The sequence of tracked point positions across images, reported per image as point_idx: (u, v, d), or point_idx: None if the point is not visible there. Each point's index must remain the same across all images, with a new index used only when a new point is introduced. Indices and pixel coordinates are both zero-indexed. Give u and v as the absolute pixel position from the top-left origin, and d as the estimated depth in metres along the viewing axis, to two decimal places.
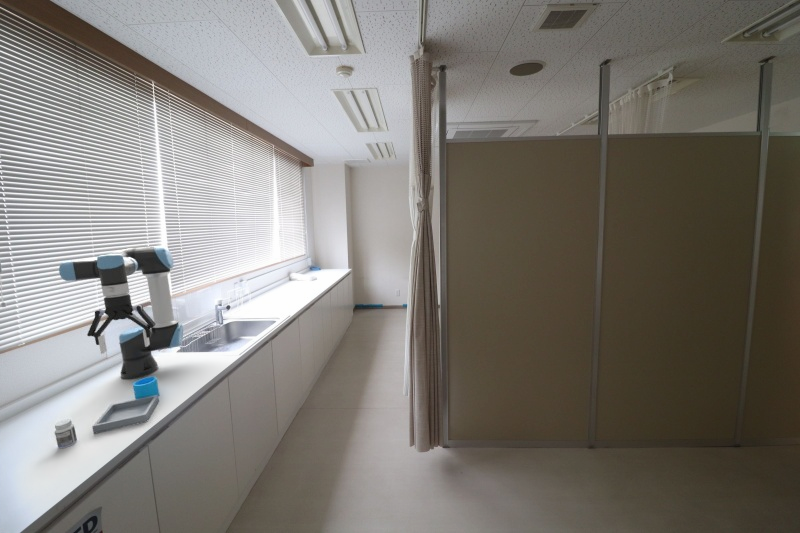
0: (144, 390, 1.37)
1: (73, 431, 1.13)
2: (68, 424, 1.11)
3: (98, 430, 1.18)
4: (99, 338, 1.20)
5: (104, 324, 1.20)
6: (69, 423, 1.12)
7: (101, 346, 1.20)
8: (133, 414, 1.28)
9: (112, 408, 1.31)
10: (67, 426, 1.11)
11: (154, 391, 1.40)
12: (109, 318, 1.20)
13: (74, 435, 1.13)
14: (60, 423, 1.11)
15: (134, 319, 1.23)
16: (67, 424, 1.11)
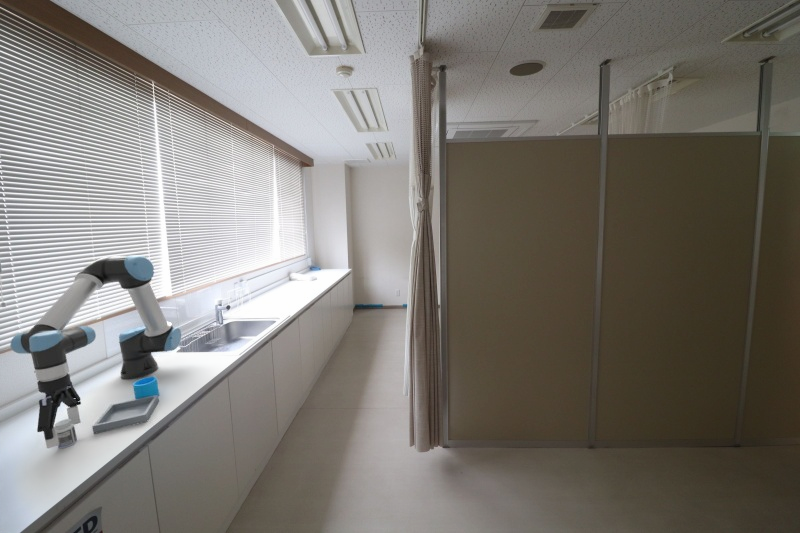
0: (144, 390, 1.37)
1: (73, 431, 1.13)
2: (68, 424, 1.11)
3: (98, 430, 1.18)
4: None
5: None
6: (69, 423, 1.12)
7: (69, 418, 1.17)
8: (133, 414, 1.28)
9: (112, 408, 1.31)
10: (67, 426, 1.11)
11: (154, 391, 1.40)
12: None
13: (74, 435, 1.13)
14: (60, 423, 1.11)
15: None
16: (67, 424, 1.11)
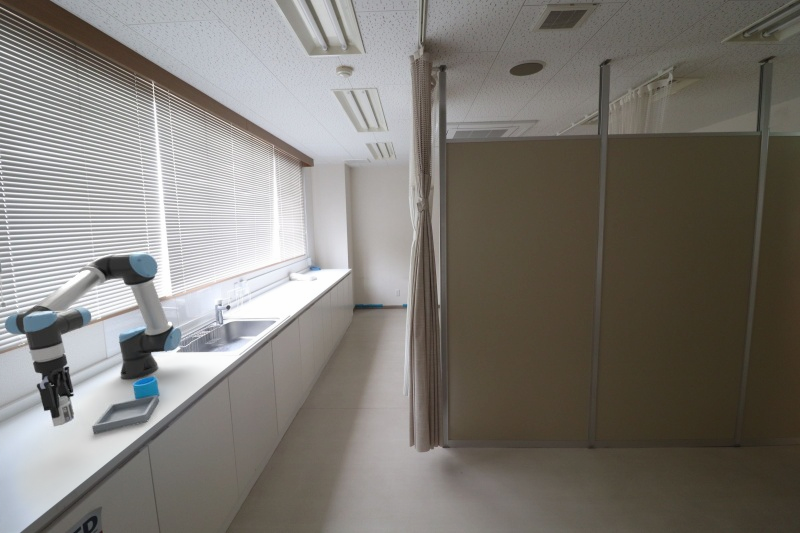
0: (144, 390, 1.37)
1: (70, 408, 1.12)
2: (64, 401, 1.10)
3: (98, 430, 1.18)
4: None
5: None
6: (65, 400, 1.11)
7: None
8: (133, 414, 1.28)
9: (112, 408, 1.31)
10: (63, 403, 1.10)
11: (154, 391, 1.40)
12: None
13: (71, 412, 1.12)
14: None
15: None
16: (63, 401, 1.10)
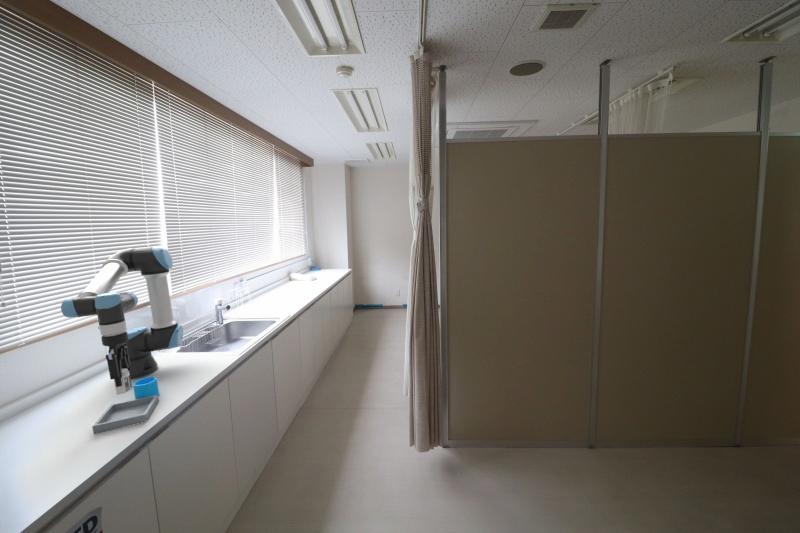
0: (144, 390, 1.37)
1: (129, 379, 1.26)
2: (125, 372, 1.25)
3: (98, 430, 1.18)
4: None
5: None
6: (126, 371, 1.26)
7: None
8: (133, 414, 1.28)
9: (112, 408, 1.31)
10: (124, 374, 1.25)
11: (154, 391, 1.40)
12: None
13: (130, 383, 1.27)
14: None
15: None
16: (125, 372, 1.25)
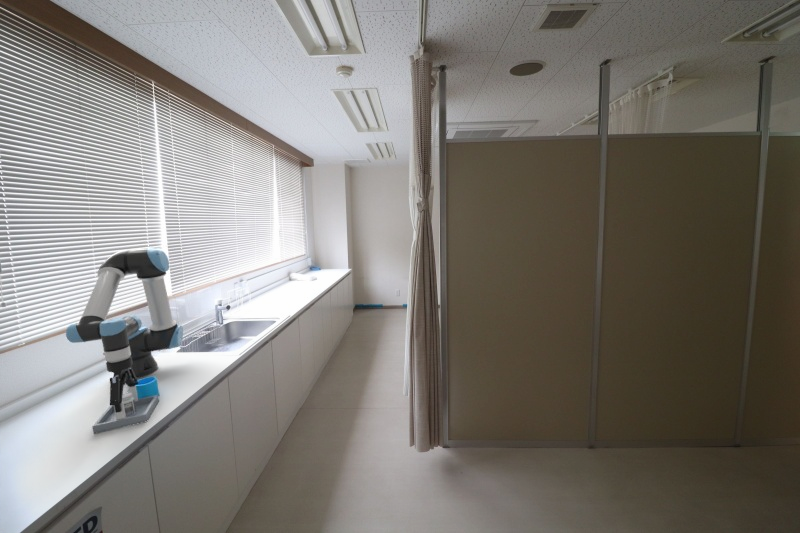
0: (144, 390, 1.37)
1: (134, 403, 1.28)
2: (130, 397, 1.27)
3: (98, 430, 1.18)
4: None
5: None
6: (130, 396, 1.27)
7: None
8: None
9: (112, 408, 1.31)
10: (129, 398, 1.26)
11: (154, 391, 1.40)
12: None
13: (134, 407, 1.28)
14: (123, 396, 1.26)
15: None
16: (129, 397, 1.26)
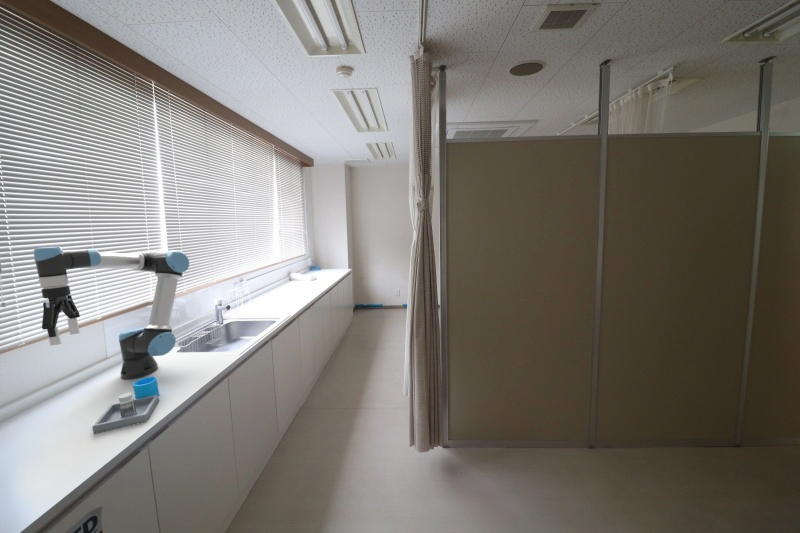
0: (144, 390, 1.37)
1: (134, 403, 1.28)
2: (130, 397, 1.27)
3: (98, 430, 1.18)
4: None
5: None
6: (130, 396, 1.27)
7: (69, 328, 1.33)
8: None
9: (112, 408, 1.31)
10: (129, 398, 1.26)
11: (154, 391, 1.40)
12: None
13: (134, 407, 1.28)
14: (123, 396, 1.26)
15: None
16: (129, 397, 1.26)
